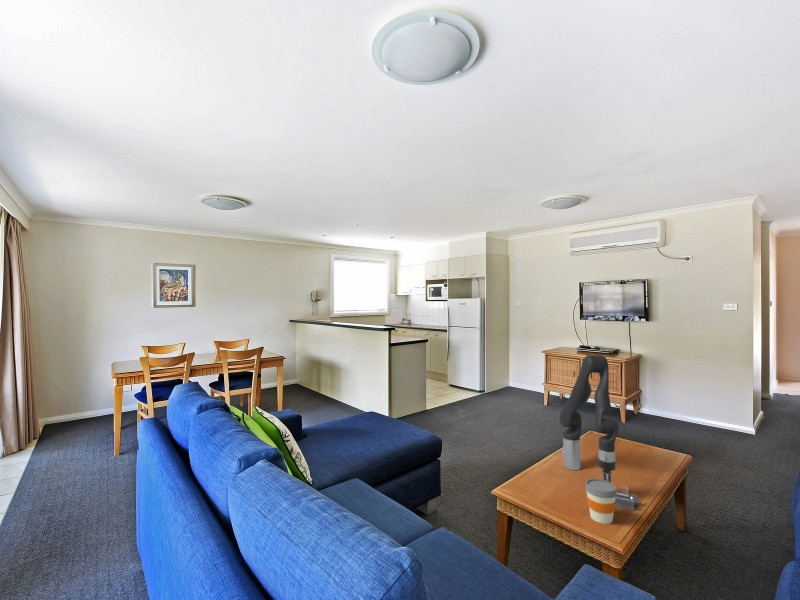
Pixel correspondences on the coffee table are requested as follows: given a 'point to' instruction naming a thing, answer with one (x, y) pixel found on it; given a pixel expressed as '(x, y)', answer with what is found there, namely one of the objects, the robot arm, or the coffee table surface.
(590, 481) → the reusable coffee cup
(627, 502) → the tongs jaw
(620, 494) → the arm
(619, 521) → the coffee table surface
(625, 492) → the salmon pink block
